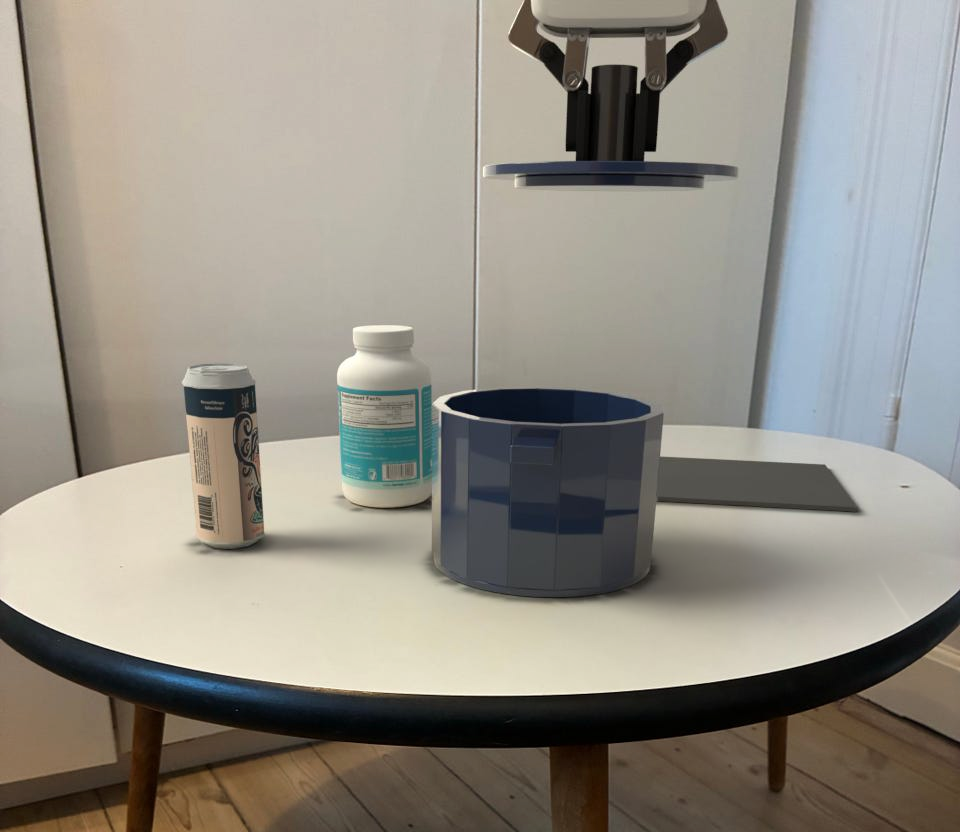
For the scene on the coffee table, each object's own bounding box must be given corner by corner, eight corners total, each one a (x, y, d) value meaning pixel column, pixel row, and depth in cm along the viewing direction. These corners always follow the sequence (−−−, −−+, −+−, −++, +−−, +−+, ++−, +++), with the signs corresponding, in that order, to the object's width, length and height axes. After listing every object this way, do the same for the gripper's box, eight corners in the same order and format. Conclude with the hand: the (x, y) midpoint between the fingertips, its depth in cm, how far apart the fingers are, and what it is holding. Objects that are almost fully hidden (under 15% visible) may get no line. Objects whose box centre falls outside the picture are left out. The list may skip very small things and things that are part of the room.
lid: (725, 192, 71) (735, 83, 68) (750, 185, 56) (764, 45, 54) (498, 191, 72) (500, 84, 70) (465, 183, 58) (466, 48, 55)
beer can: (268, 548, 71) (257, 371, 66) (197, 553, 70) (181, 372, 65) (262, 529, 75) (251, 361, 70) (194, 533, 74) (179, 362, 69)
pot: (649, 526, 78) (660, 386, 74) (650, 620, 59) (666, 440, 55) (459, 515, 80) (461, 378, 76) (404, 603, 61) (402, 427, 57)
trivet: (824, 468, 98) (825, 464, 97) (856, 512, 83) (857, 507, 83) (655, 460, 100) (655, 456, 99) (657, 501, 85) (657, 496, 85)
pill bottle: (382, 483, 89) (379, 321, 84) (450, 496, 85) (451, 327, 80) (322, 500, 83) (314, 327, 78) (392, 515, 79) (389, 334, 74)
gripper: (474, -220, 54) (472, 162, 61) (789, -233, 52) (750, 163, 59) (491, -170, 61) (488, 168, 68) (770, -180, 59) (737, 169, 66)
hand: (610, 162), depth 64 cm, fingers closed on lid, 2 cm apart
